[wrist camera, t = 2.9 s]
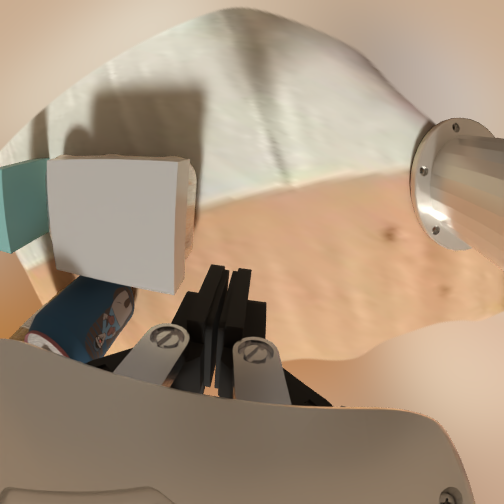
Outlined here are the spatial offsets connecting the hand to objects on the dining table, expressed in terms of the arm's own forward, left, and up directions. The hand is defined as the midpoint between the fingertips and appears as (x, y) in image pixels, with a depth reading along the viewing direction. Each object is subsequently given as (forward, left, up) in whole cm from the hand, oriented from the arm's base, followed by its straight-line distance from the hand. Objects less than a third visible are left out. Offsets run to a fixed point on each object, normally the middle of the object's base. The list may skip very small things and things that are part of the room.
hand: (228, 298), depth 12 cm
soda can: (+14, +10, -13) cm, 22 cm away
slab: (+10, 0, -9) cm, 13 cm away
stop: (+23, 0, -13) cm, 26 cm away
